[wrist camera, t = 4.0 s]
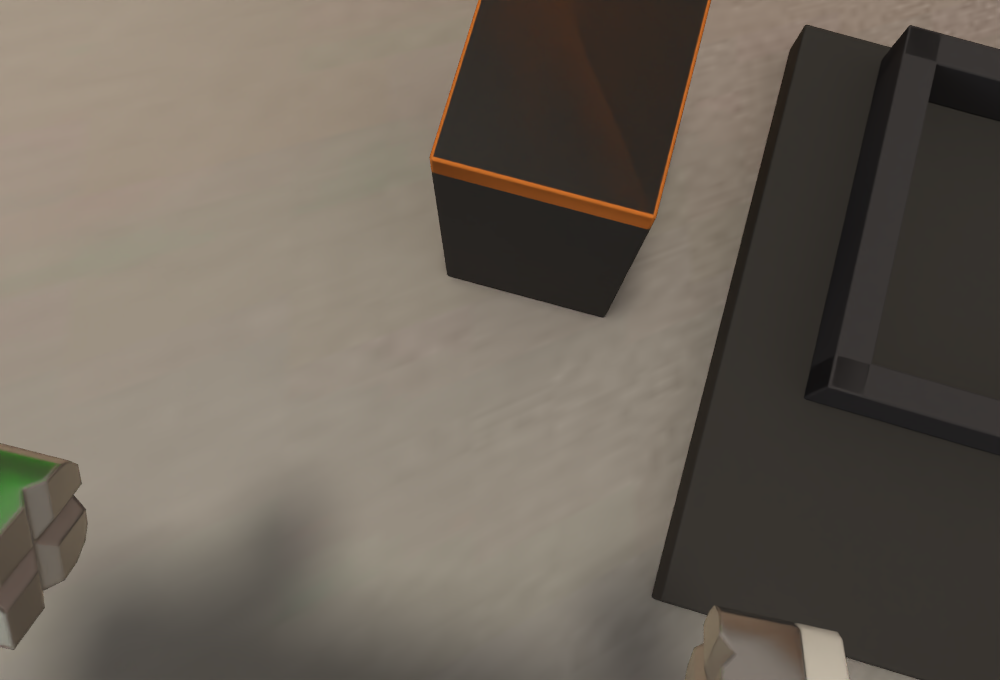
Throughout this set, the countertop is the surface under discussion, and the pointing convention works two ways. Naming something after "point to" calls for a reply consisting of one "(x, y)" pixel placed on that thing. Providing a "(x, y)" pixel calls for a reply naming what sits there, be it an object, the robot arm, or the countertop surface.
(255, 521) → the countertop surface
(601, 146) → the pad block
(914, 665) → the base pad
